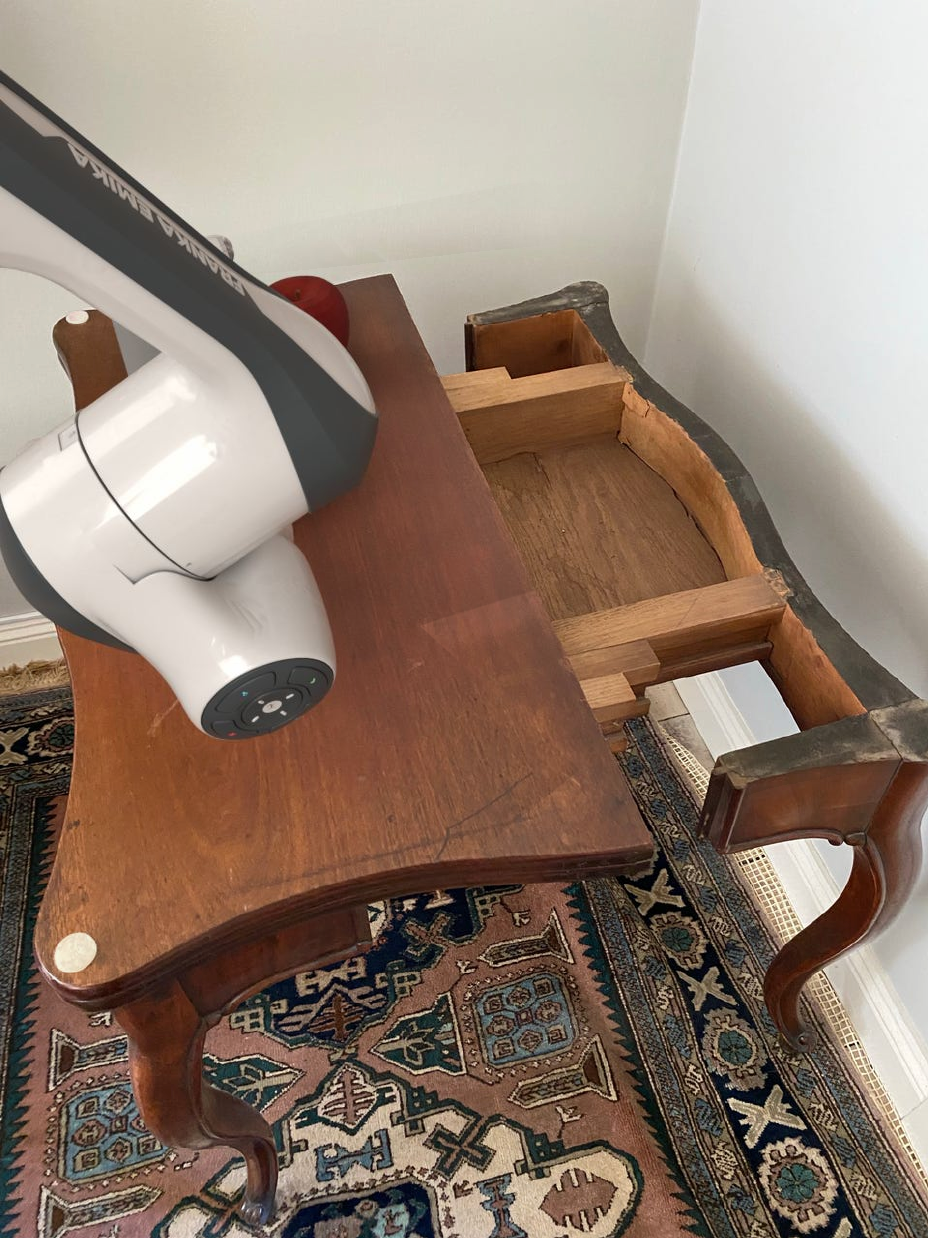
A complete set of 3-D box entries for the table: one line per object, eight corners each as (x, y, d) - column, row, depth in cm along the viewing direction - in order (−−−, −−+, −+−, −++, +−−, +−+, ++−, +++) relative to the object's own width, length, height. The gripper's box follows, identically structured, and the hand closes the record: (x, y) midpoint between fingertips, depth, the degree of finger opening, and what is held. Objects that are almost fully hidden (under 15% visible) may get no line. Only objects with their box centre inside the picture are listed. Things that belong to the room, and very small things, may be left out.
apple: (247, 368, 95) (228, 279, 88) (326, 339, 99) (314, 251, 91) (290, 411, 90) (274, 320, 83) (372, 379, 94) (363, 289, 86)
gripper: (366, 429, 55) (306, 319, 64) (14, 514, 50) (0, 383, 58) (374, 507, 60) (317, 396, 68) (53, 593, 55) (35, 460, 63)
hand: (168, 390), depth 63 cm, fingers closed on container, 4 cm apart
